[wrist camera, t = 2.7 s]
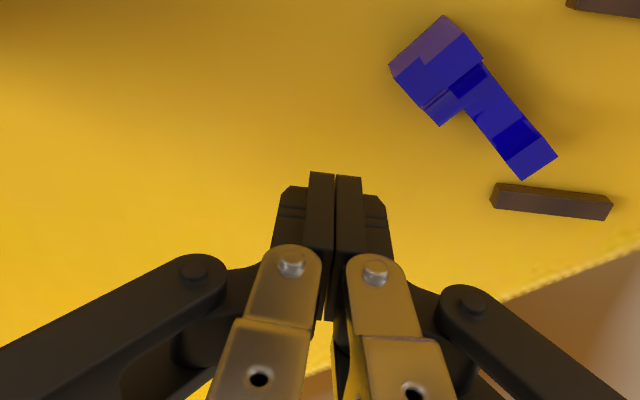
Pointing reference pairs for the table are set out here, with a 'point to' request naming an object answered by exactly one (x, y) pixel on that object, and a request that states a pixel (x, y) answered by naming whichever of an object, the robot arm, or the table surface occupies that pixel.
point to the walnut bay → (627, 3)
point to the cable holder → (468, 94)
